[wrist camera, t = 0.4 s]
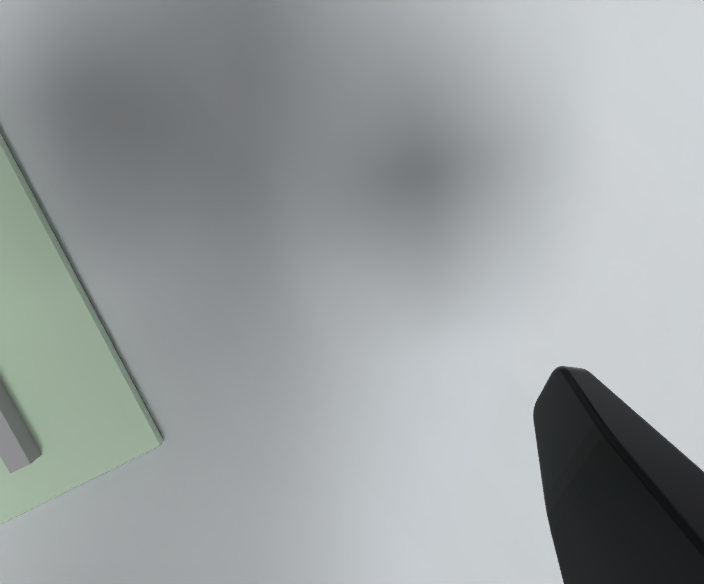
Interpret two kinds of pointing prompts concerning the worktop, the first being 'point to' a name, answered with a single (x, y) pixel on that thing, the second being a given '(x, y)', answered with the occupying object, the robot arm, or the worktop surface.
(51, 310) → the pitch
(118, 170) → the worktop surface
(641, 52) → the worktop surface
